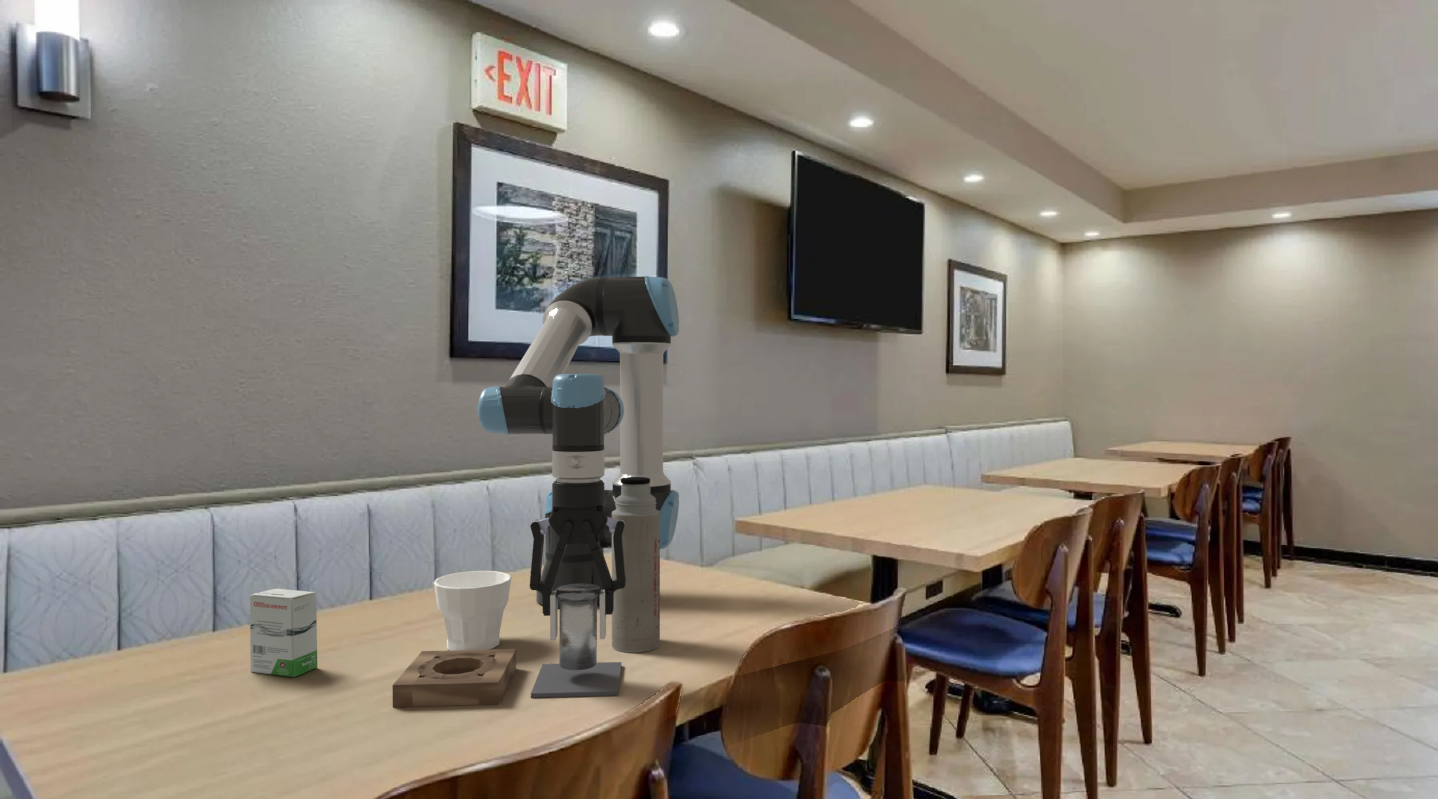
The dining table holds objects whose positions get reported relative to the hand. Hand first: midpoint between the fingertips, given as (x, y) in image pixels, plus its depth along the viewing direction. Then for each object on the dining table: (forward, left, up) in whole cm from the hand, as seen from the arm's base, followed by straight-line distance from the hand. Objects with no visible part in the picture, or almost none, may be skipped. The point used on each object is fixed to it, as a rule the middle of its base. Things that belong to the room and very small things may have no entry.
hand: (578, 636), depth 119 cm
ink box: (-8, -45, -7) cm, 46 cm away
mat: (0, 0, -7) cm, 7 cm away
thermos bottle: (-16, +8, -7) cm, 19 cm away
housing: (+1, -17, -7) cm, 18 cm away
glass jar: (0, 0, -4) cm, 4 cm away
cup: (-18, -19, -7) cm, 27 cm away
